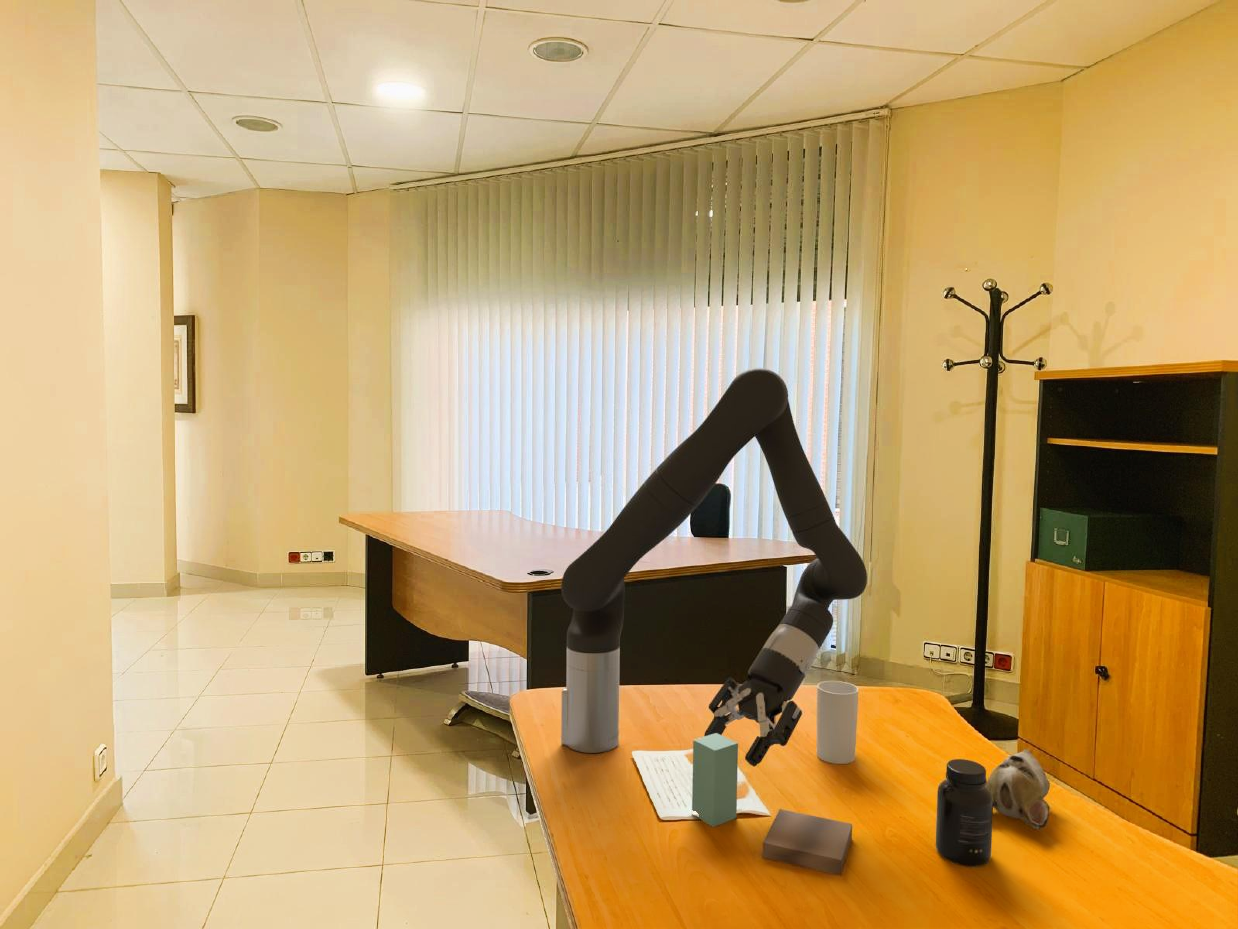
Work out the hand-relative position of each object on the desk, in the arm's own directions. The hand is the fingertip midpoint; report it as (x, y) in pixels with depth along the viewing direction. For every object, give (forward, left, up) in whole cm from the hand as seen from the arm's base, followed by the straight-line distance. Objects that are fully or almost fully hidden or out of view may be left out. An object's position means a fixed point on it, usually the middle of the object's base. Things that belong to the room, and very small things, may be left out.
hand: (728, 752), depth 119 cm
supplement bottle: (+32, +2, -9) cm, 33 cm away
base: (+13, -5, -9) cm, 16 cm away
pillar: (-1, -2, -9) cm, 9 cm away
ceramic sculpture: (+38, +17, -9) cm, 43 cm away
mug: (+12, +28, -9) cm, 31 cm away
